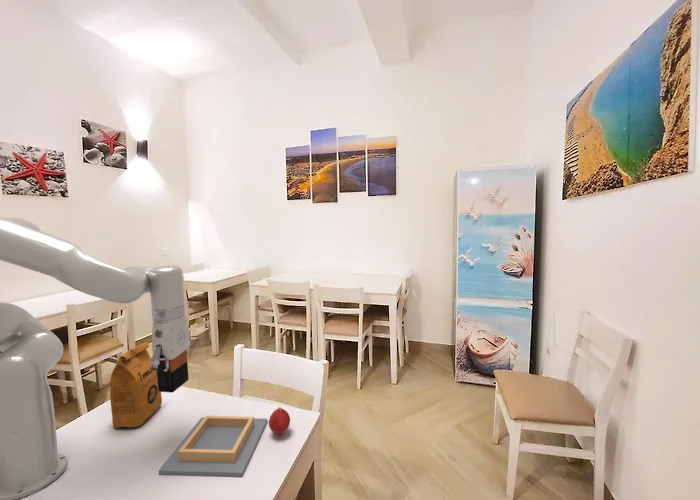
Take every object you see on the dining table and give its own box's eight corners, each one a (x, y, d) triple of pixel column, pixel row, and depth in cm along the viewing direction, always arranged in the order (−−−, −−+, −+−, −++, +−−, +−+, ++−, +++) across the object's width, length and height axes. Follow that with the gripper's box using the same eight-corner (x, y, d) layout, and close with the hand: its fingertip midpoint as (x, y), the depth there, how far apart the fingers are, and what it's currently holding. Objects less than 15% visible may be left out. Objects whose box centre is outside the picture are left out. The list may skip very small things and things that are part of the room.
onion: (267, 430, 89) (266, 404, 88) (286, 424, 91) (286, 398, 91) (272, 443, 84) (271, 415, 83) (292, 436, 86) (292, 409, 85)
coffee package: (168, 405, 101) (164, 340, 99) (139, 431, 88) (134, 357, 86) (139, 404, 101) (134, 339, 99) (106, 429, 89) (100, 356, 87)
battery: (189, 380, 87) (187, 345, 86) (173, 393, 80) (170, 356, 79) (175, 379, 87) (172, 345, 86) (157, 392, 81) (154, 355, 80)
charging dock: (158, 474, 73) (157, 460, 73) (201, 420, 93) (201, 409, 93) (242, 476, 73) (241, 462, 72) (267, 421, 93) (267, 410, 92)
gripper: (162, 323, 73) (168, 395, 75) (199, 303, 90) (203, 362, 92) (131, 324, 73) (137, 395, 75) (173, 303, 90) (178, 362, 92)
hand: (173, 376), depth 83 cm, fingers closed on battery, 7 cm apart
